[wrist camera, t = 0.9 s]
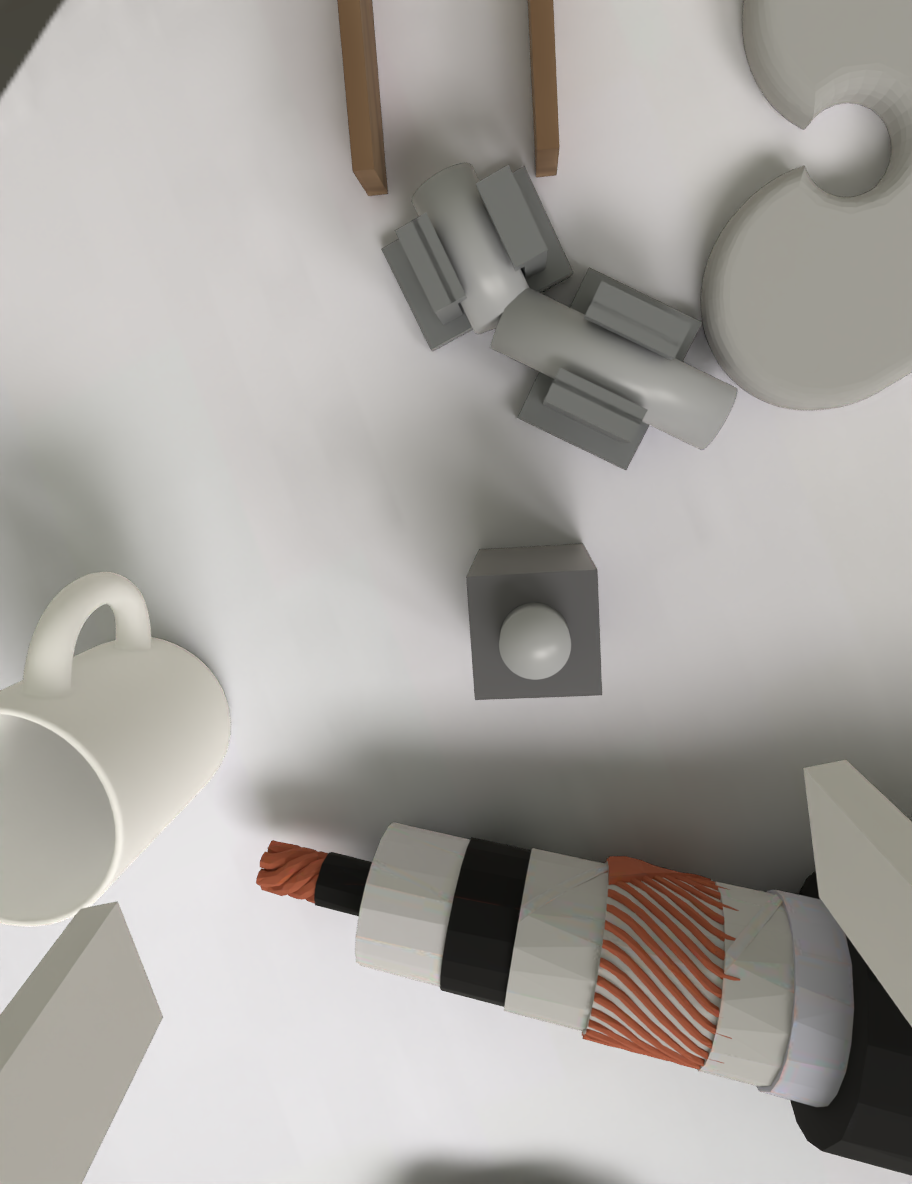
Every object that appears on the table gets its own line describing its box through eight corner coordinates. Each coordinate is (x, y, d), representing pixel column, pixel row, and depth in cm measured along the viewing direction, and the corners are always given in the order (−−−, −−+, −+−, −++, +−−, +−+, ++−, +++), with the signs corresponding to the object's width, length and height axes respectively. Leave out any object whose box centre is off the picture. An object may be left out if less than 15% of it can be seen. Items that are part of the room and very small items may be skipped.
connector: (582, 543, 32) (600, 575, 24) (586, 643, 33) (605, 706, 25) (479, 549, 33) (463, 582, 25) (485, 648, 34) (472, 711, 26)
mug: (77, 541, 35) (-109, 580, 24) (250, 568, 34) (134, 620, 24) (68, 779, 37) (-104, 904, 27) (230, 808, 36) (116, 947, 26)
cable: (326, 762, 40) (256, 743, 31) (1019, 910, 35) (1200, 944, 25) (276, 963, 38) (182, 1012, 28) (1018, 1161, 32) (1221, 1307, 22)
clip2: (577, 286, 30) (583, 265, 27) (438, 362, 31) (426, 351, 28) (518, 159, 30) (517, 120, 26) (378, 241, 31) (359, 214, 27)
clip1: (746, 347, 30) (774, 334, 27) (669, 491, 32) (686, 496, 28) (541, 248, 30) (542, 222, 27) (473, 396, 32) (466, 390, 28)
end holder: (546, -55, 28) (548, -109, 25) (556, 175, 30) (559, 147, 27) (349, -27, 29) (330, -76, 26) (368, 196, 30) (352, 171, 28)
